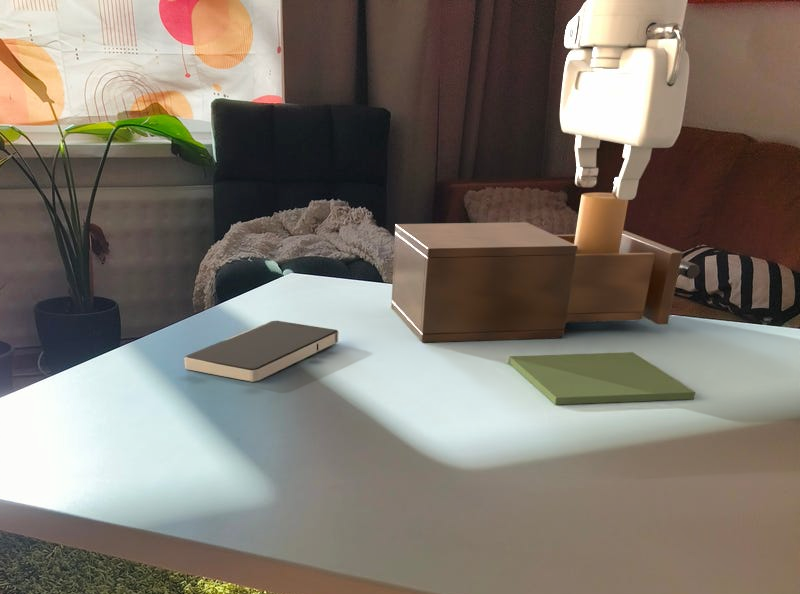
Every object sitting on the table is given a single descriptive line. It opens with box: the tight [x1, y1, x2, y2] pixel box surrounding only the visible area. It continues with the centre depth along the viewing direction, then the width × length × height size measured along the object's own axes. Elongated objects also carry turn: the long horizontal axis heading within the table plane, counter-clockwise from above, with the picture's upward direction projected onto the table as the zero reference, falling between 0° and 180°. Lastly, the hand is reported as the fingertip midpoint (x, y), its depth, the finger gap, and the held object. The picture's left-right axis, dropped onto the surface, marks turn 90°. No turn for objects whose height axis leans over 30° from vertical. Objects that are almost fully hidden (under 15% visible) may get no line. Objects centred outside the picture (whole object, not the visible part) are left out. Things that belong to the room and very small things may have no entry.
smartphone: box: [183, 320, 339, 383], centre depth 83 cm, size 8×1×15 cm
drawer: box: [554, 230, 700, 325], centre depth 94 cm, size 18×13×7 cm
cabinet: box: [390, 221, 577, 343], centre depth 92 cm, size 15×15×9 cm
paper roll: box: [574, 192, 629, 254], centre depth 92 cm, size 5×5×10 cm
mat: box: [508, 351, 696, 406], centre depth 78 cm, size 12×12×1 cm
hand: (603, 192), depth 89 cm, fingers open, 8 cm apart
